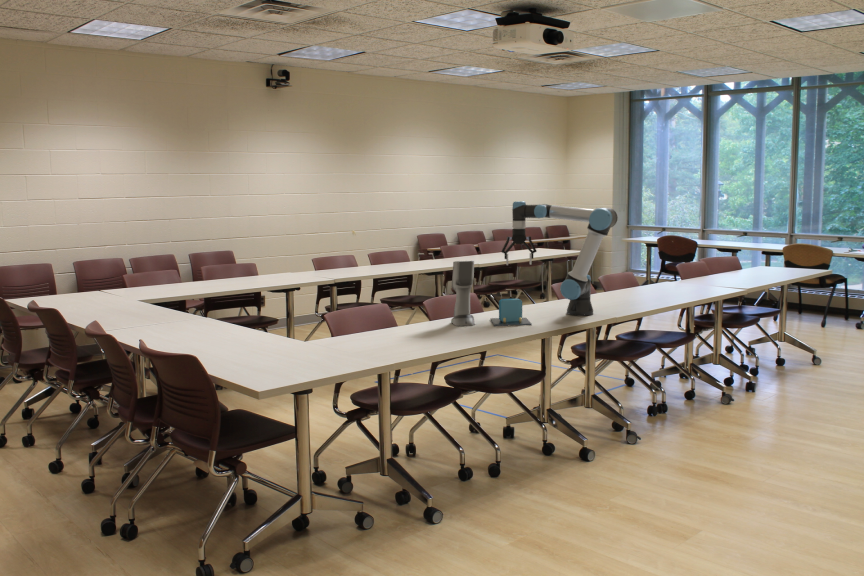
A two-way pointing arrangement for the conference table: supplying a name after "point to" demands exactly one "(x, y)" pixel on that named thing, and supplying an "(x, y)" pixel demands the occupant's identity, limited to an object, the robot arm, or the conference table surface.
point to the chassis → (499, 323)
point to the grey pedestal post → (462, 292)
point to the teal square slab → (510, 309)
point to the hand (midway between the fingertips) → (518, 264)
